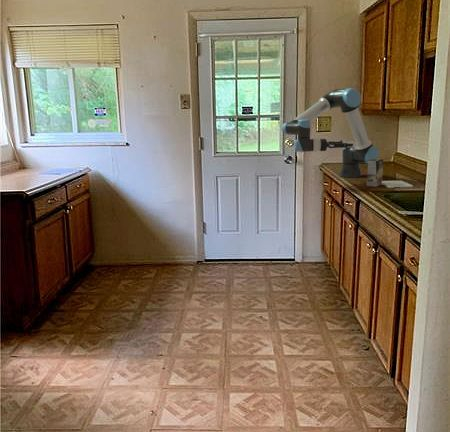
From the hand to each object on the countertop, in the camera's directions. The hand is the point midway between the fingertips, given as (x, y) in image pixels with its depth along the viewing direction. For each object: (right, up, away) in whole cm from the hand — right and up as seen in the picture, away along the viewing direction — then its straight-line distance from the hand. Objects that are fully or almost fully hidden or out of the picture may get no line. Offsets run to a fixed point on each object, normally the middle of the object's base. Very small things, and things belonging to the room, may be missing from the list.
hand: (355, 144), depth 280 cm
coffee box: (+14, -25, +6) cm, 29 cm away
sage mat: (+26, -25, +5) cm, 36 cm away
